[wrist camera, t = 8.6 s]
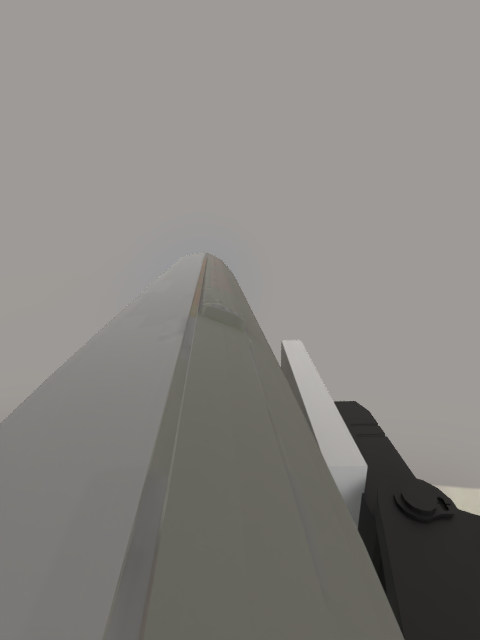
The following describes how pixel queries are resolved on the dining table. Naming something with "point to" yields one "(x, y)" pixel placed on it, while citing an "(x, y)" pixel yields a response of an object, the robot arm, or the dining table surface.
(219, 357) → the digital clock
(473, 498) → the dining table surface
